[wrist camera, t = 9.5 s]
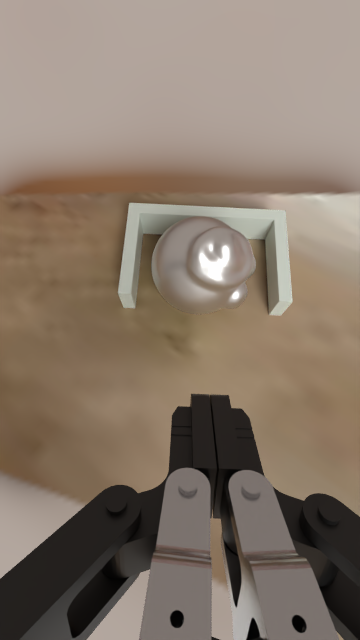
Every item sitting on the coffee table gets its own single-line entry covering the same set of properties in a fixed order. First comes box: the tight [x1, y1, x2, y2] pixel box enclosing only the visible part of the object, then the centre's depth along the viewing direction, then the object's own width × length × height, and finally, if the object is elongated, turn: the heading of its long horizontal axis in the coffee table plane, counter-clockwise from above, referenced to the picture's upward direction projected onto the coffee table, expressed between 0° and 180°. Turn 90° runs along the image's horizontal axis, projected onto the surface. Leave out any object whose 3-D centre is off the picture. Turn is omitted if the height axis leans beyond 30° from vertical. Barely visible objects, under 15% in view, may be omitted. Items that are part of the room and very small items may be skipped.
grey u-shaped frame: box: [118, 203, 292, 316], centre depth 33 cm, size 16×10×4 cm, turn 87°
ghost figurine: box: [151, 216, 256, 314], centre depth 29 cm, size 9×10×10 cm
